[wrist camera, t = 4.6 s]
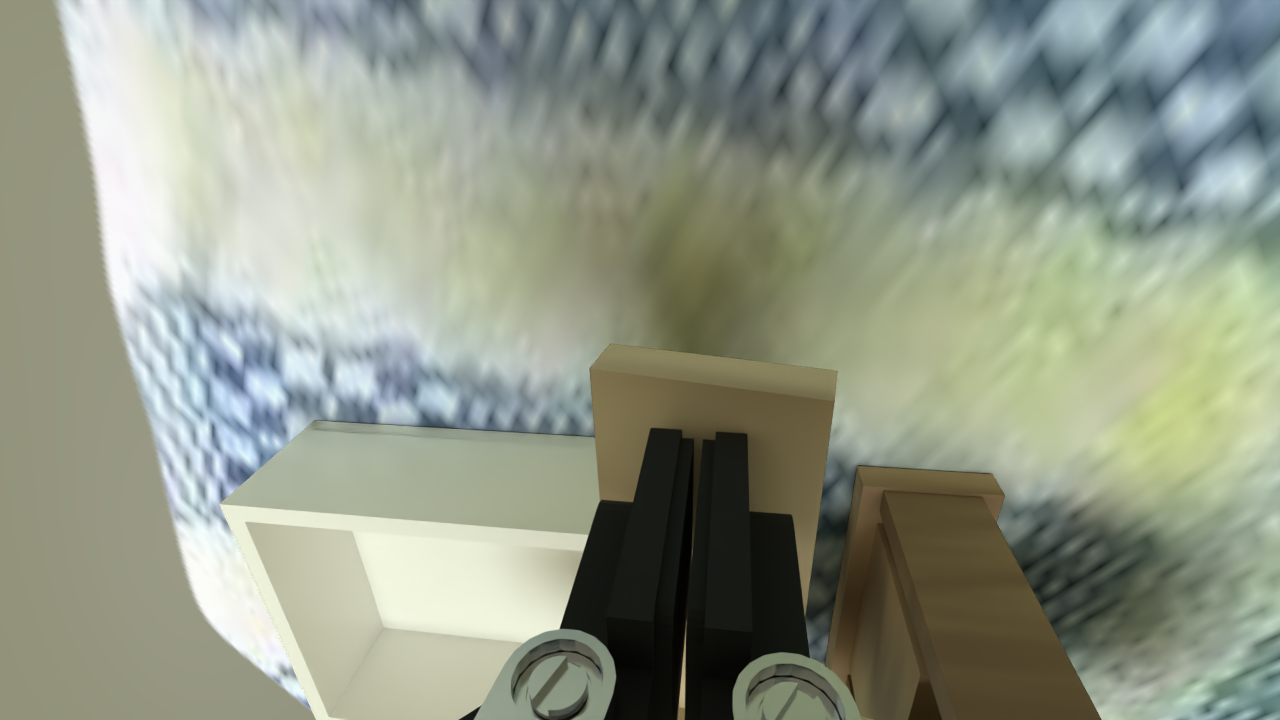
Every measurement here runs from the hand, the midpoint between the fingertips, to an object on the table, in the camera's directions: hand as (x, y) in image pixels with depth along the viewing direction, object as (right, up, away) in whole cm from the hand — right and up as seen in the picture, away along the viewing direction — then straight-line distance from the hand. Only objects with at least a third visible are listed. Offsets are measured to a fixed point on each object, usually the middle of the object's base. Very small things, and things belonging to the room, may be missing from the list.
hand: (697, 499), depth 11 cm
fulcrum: (+8, -5, +11) cm, 14 cm away
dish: (-7, -5, +13) cm, 15 cm away
